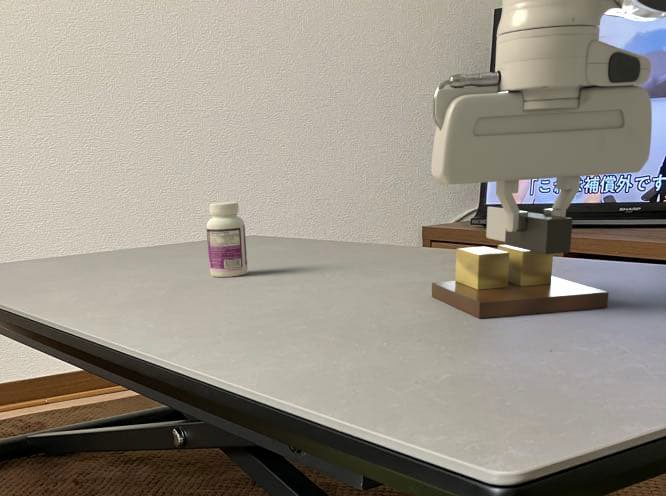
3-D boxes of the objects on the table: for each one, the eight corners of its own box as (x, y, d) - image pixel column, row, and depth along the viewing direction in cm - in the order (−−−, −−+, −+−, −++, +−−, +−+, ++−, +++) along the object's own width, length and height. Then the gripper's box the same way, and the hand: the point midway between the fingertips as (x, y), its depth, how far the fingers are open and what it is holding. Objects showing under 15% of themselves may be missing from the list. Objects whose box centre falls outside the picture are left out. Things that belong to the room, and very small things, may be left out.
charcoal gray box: (570, 252, 83) (573, 215, 82) (545, 254, 83) (548, 217, 81) (498, 236, 99) (499, 206, 98) (477, 238, 99) (478, 207, 98)
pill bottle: (220, 272, 131) (214, 201, 128) (253, 272, 129) (249, 200, 126) (203, 277, 127) (197, 204, 123) (238, 277, 125) (233, 203, 121)
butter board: (543, 287, 102) (546, 241, 100) (607, 307, 88) (612, 254, 86) (431, 296, 100) (432, 249, 98) (478, 318, 87) (481, 264, 85)
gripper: (445, 72, 78) (441, 240, 83) (668, 60, 80) (650, 225, 85) (423, 78, 83) (421, 234, 89) (632, 67, 86) (617, 220, 91)
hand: (535, 229), depth 87 cm, fingers closed on charcoal gray box, 2 cm apart
